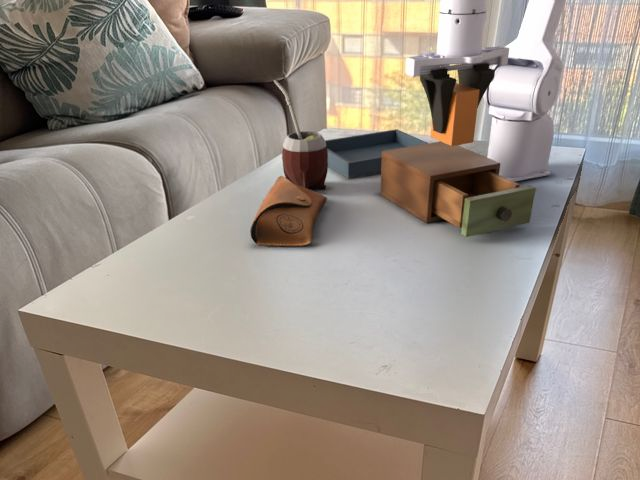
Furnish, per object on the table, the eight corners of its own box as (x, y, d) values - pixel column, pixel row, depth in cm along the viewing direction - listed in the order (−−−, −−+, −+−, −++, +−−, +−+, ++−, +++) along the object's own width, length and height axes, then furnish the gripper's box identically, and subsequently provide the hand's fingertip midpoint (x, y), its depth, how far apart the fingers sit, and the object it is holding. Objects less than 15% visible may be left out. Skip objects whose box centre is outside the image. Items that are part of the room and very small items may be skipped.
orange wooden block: (451, 133, 90) (456, 82, 86) (473, 142, 86) (479, 89, 82) (430, 137, 89) (434, 85, 85) (451, 146, 85) (456, 92, 81)
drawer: (535, 226, 84) (542, 190, 81) (471, 240, 81) (476, 203, 78) (475, 195, 94) (479, 162, 91) (415, 207, 91) (418, 173, 88)
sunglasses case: (315, 243, 82) (286, 198, 79) (271, 268, 85) (241, 226, 82) (328, 196, 96) (305, 156, 93) (291, 219, 99) (266, 181, 96)
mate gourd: (328, 196, 98) (326, 88, 88) (277, 197, 98) (270, 89, 88) (328, 180, 104) (326, 77, 94) (280, 181, 104) (273, 79, 94)
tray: (396, 143, 119) (397, 129, 118) (437, 162, 109) (438, 147, 108) (313, 156, 114) (312, 142, 113) (348, 178, 104) (348, 163, 102)
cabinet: (494, 209, 91) (500, 163, 87) (426, 223, 88) (430, 176, 84) (442, 182, 101) (446, 140, 97) (380, 194, 98) (381, 151, 94)
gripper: (430, 20, 73) (422, 144, 82) (531, 10, 78) (513, 128, 86) (399, 14, 78) (394, 131, 87) (495, 5, 83) (481, 117, 91)
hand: (451, 129), depth 87 cm, fingers closed on orange wooden block, 3 cm apart
